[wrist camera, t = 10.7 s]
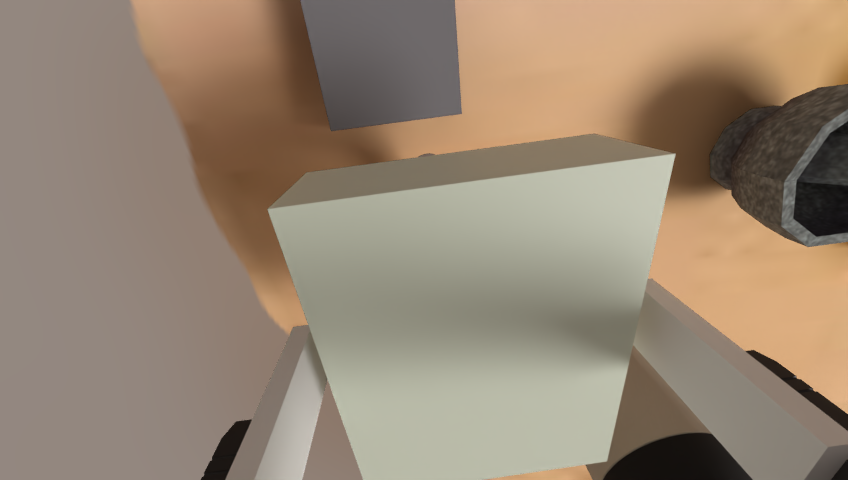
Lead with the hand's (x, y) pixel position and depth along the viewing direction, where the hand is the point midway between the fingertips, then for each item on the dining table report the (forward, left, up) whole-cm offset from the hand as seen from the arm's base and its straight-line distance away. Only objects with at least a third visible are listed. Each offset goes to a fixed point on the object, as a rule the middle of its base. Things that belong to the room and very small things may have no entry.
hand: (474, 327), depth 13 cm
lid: (0, 0, -2) cm, 2 cm away
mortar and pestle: (-25, -2, -13) cm, 28 cm away
